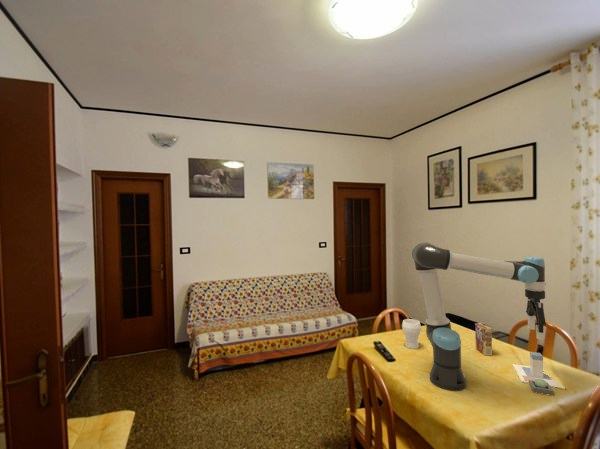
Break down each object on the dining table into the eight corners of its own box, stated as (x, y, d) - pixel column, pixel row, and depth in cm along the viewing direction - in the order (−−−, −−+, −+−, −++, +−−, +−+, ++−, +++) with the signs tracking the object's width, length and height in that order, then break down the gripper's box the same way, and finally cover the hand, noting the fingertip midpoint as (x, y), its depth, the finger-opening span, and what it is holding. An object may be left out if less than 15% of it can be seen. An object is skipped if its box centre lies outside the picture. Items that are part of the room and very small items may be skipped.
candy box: (493, 355, 162) (492, 328, 163) (485, 356, 162) (484, 328, 162) (482, 348, 171) (481, 322, 171) (475, 349, 171) (474, 323, 171)
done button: (536, 388, 128) (536, 382, 128) (533, 383, 132) (533, 377, 132) (548, 390, 126) (547, 384, 126) (544, 385, 130) (544, 379, 130)
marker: (532, 376, 139) (532, 355, 139) (530, 372, 143) (529, 351, 143) (543, 377, 137) (542, 356, 137) (540, 373, 141) (540, 353, 141)
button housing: (533, 392, 127) (533, 387, 127) (528, 384, 134) (528, 379, 134) (553, 395, 124) (553, 391, 124) (547, 387, 131) (547, 382, 131)
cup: (422, 344, 179) (422, 320, 179) (419, 351, 170) (418, 325, 170) (404, 341, 185) (404, 317, 185) (400, 347, 176) (400, 322, 176)
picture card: (521, 382, 135) (521, 380, 135) (512, 365, 151) (512, 363, 151) (566, 389, 128) (566, 388, 128) (551, 370, 145) (551, 369, 145)
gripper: (554, 296, 127) (555, 345, 127) (536, 284, 150) (537, 326, 150) (533, 294, 130) (534, 342, 130) (518, 283, 153) (519, 324, 153)
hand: (535, 333), depth 140 cm, fingers open, 13 cm apart
